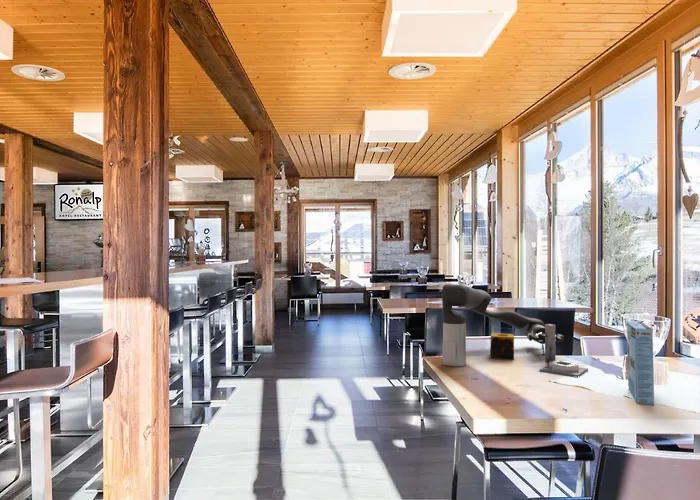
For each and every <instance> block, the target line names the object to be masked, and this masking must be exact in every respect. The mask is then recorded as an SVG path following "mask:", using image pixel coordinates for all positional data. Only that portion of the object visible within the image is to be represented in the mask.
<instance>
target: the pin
mask: <svg viewBox="0 0 700 500" xmlns="http://www.w3.org/2000/svg"><path fill="white" fill-rule="evenodd" d="M544 327H545V344H544V347H545V348H544V352H545V354H544V358H545V359H544V360H545V363H546V364H549V361H556V341H555V335H556V324H551V323H547V324H545V323H544Z"/></svg>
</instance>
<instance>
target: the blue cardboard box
mask: <svg viewBox="0 0 700 500" xmlns="http://www.w3.org/2000/svg"><path fill="white" fill-rule="evenodd" d="M653 331H654V330H653V328H650V327H649V326H648V325H646V324H645V323H643V321H635V320H634V321H633V320H631V321H630V320H629V321H626V333H627V335H626V336H627V337H626V338H627V340H626V341H627V382H628V385H627V388H628V387H629V388H628V390H629V392H630V393H631V395H632V397H633V399H634V401H635V403H636V404H642V405H643V404H644V405H653V406H654V405H655V390H654V389H655V384H654V383H655V382H654V381H655V379H654V378H655V377H654V341H653V339H654V336H653V333H654V332H653Z"/></svg>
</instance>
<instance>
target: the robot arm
mask: <svg viewBox="0 0 700 500" xmlns="http://www.w3.org/2000/svg"><path fill="white" fill-rule="evenodd" d="M441 300H442V301H441V304H442V320H443V321H442V324H443V325H442V326H443V327H442V329H443V331H442V332H443V334H442V335H443V337H442V365H443V366H449V367H455V368H456V367H463V366H466V364H467V360H466V359H467V349H466V348H467V347H466V345H467V340H466V339H467V338H466V336H467V333H466V331H467V330H466V329H467V324H466V323H467V319H466V316H465V315H463V314H461V313H459V312H457V311H455V310H454V308H453V307H457V308H459V307H460V308H467V309H470V310H471V311H473V312H474V313H477V314H479V315H482V316H483V317H488V318H490V319H494V320H497V321H499V322H502V323H505V324H507V325H508V326H511V327H513V328H515V329H517V330H523V329H524V328H525V327H526V328H525V330H524V335H525V337H526V338H527V340H529V342H532V341H533V342H537V343H538V344H541V345H545V323H544V321H542V320H541V319H539V318H534V317H527V316H525V315H522V314H520V313H518V312H516V311H513V310H509V309H506V310H494V311H493V310H489V309H487V308H488V307H489V305H490V303H491V301H492V296H491V295H490V293H488V292H487V291H485V290H483V289H479V288H478V289H477V288H476V289H475V288H472V287H469V286H468V285H465V284H459V283H458V284H454V283H453V284H452V283H451V284H450V283H449V284H448V283H447V284H444V285H443V287H442V291H441ZM562 342H564V335H563V334H560V333H558V334H557V333H556V334H555V343H557V344H560V343H562Z"/></svg>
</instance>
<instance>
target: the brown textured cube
mask: <svg viewBox="0 0 700 500" xmlns="http://www.w3.org/2000/svg"><path fill="white" fill-rule="evenodd" d="M489 349H490V350H489V353H490V354H489V357H490V359H495V360H511V361H514V360H515V335H514V333H513V334H512V333H500V332H499V333H498V332H497V333H496V332H494V333H493V332H491V333H490V348H489Z"/></svg>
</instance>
